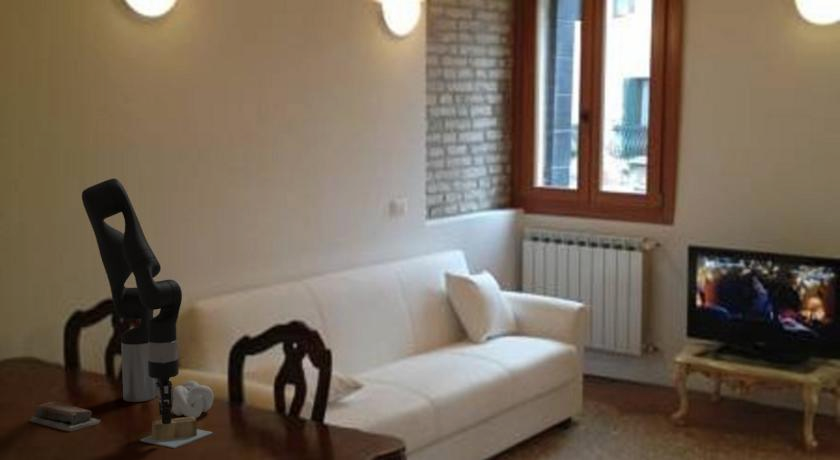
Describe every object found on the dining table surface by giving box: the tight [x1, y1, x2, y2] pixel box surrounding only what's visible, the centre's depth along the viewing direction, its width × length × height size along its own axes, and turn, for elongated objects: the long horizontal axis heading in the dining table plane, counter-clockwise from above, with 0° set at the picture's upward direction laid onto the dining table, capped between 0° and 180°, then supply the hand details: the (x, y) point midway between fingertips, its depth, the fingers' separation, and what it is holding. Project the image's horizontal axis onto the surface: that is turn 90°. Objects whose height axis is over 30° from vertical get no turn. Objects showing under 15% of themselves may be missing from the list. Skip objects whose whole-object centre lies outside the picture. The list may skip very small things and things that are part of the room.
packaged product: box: [29, 401, 101, 433], centre depth 277 cm, size 18×5×10 cm
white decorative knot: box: [171, 380, 215, 419], centre depth 284 cm, size 11×12×9 cm
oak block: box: [151, 416, 198, 440], centre depth 263 cm, size 4×4×11 cm
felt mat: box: [139, 428, 214, 449], centre depth 263 cm, size 14×12×1 cm
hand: (165, 419), depth 262 cm, fingers open, 8 cm apart
